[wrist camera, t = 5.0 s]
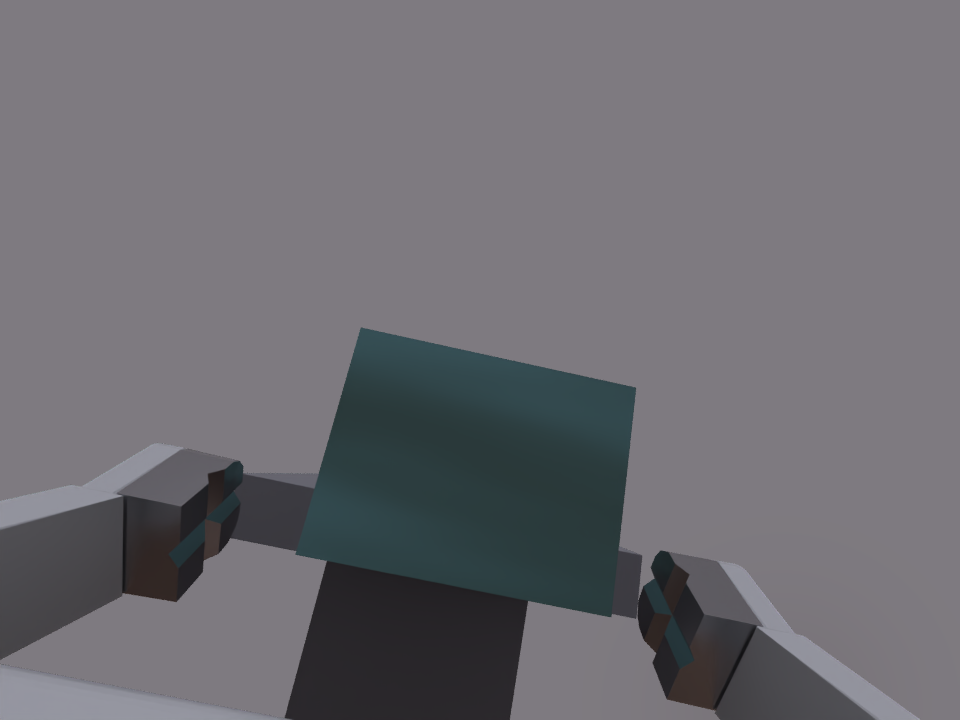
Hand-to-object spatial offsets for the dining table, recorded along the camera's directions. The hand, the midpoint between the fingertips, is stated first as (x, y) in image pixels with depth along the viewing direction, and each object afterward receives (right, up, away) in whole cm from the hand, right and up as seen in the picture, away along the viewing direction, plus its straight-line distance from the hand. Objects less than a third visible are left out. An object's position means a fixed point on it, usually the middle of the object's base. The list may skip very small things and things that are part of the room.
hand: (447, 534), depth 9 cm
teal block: (-1, -3, +10) cm, 11 cm away
